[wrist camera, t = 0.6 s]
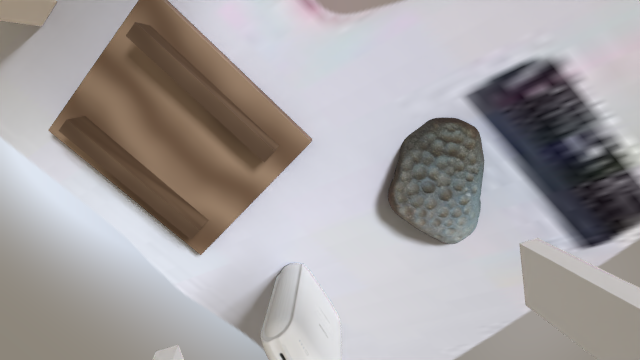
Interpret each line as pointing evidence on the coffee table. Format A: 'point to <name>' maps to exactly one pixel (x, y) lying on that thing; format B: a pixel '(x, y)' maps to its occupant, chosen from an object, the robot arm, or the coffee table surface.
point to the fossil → (440, 179)
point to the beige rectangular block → (26, 11)
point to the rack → (178, 125)
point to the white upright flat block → (300, 319)
